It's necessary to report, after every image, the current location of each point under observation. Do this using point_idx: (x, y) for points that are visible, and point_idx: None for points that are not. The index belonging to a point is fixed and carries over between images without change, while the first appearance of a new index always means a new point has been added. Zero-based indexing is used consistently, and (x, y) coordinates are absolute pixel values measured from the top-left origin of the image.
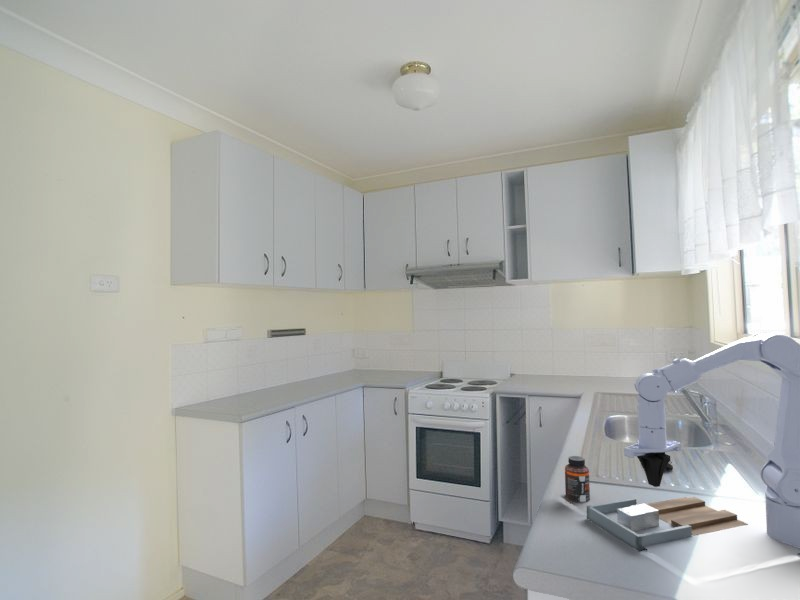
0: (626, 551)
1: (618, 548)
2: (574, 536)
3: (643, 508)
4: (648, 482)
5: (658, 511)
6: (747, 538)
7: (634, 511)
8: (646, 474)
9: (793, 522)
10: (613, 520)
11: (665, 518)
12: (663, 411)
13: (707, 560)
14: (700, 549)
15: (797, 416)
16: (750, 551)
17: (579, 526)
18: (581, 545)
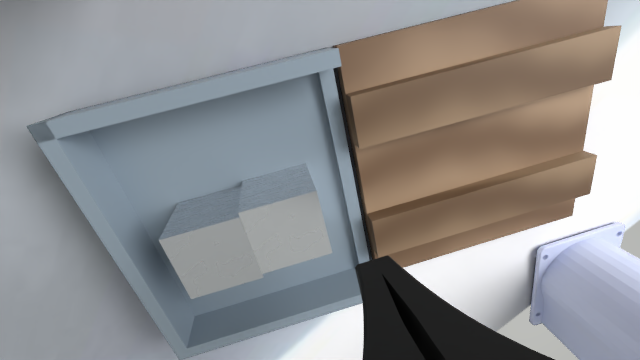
0: (152, 322)
1: (133, 310)
2: None
3: (282, 237)
4: (357, 273)
5: (331, 250)
6: (507, 254)
7: (228, 261)
8: (364, 310)
9: (600, 357)
10: (130, 268)
11: (378, 171)
12: None
13: (336, 341)
14: None
15: None
16: (457, 304)
17: (16, 178)
18: (5, 302)
